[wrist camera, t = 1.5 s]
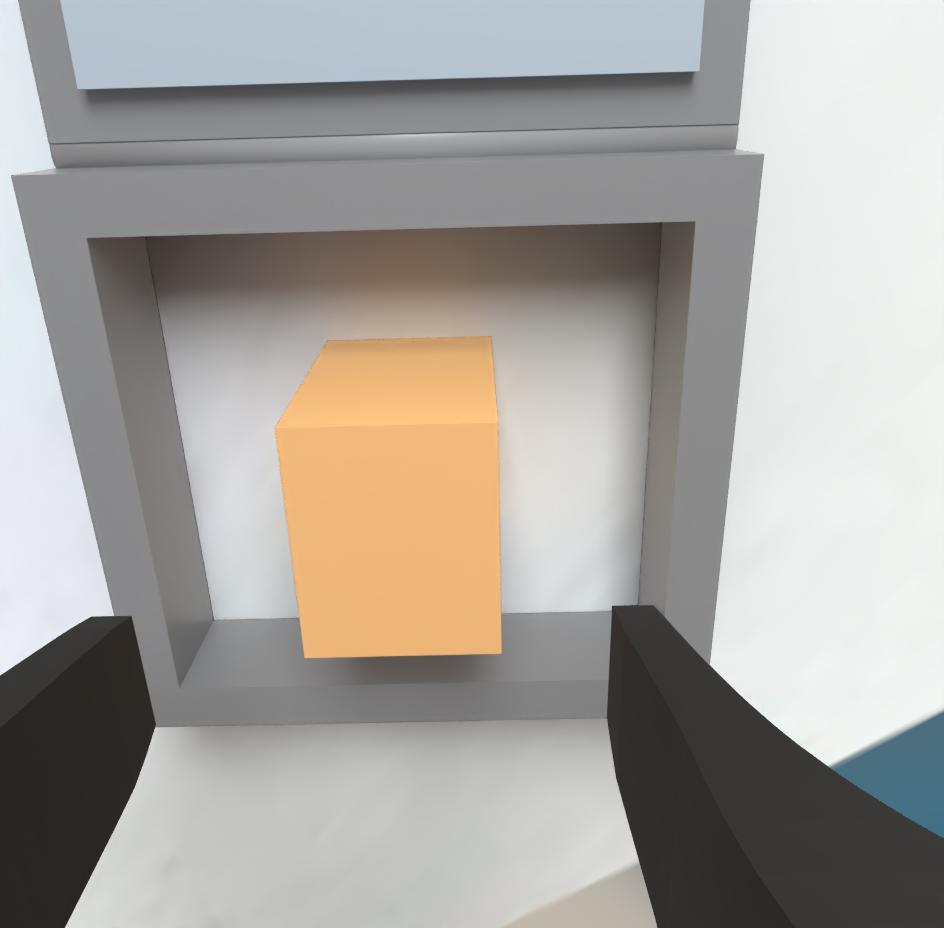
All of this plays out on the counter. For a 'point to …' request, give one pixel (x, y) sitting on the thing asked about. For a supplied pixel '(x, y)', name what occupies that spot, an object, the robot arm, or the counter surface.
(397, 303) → the counter surface
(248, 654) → the grey framed tray
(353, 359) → the block
